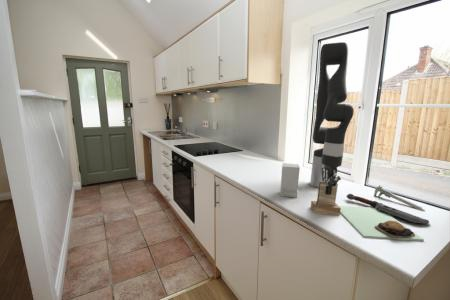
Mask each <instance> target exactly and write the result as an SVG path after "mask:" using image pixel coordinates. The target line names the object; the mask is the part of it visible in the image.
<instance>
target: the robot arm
mask: <svg viewBox="0 0 450 300" xmlns="http://www.w3.org/2000/svg"><path fill="white" fill-rule="evenodd" d="M319 54H320V56H319V73H318V74H319V78H318V86H317V88H318V89H317V94H316V106H315V107H316V108H315V118H314V119H315V120H314V127H313V131H312V141H313V143H314V144H319V145H323V147H322V148H318V149H315V150H314V151H313V156H312V164H311V173H310V181H309V185H311V186H312V187H315V188H318V189H319V182H327V184H326V185H327V186H326V192H325V194H326V195H331V192H332V186H334V187H335V186H336V184H338V183H339V181H340V180H339V179H340V178H341V176H340V175H338V167H341V166H342V162H343V156H344V149H345V147H344V145H345V137H346V133H347V130H348V127H349V125H350V122H351V121H352V119H353V116H354V112H355V110H354V107H353V105H352V104H350V103H349V104H348V103H344V102H345V101H346V100H347V98H348V97H347V96H348V91H347V73H348V62H349V60H348V59H349V46H348V43H346V42H344V41H343V42H342V41H341V42H333V43H332V42H330V43H324V44H323V45H321V48H320V53H319ZM337 65H339V66H338V68H337V69H336V71H335V72H334V73H333V74H332V76H331V77H330V75H329V71H328V66H337ZM324 121H326V122H334V123H339V125H337V126H334V127H332V126H331V127H325V126H324V127H323V126H322V124H323V123H324Z"/></svg>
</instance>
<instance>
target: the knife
mask: <svg viewBox="0 0 450 300" xmlns="http://www.w3.org/2000/svg"><path fill="white" fill-rule="evenodd" d="M346 198H347V199H348V200H351V201H352V200H355V201H357V202H358V203H359V202H360V203H362V204H366V205H368V206H370V207H371V208H377V209H378V210H380V211H382V212H385V213H388V214H389V215H390V216H392V217H394V218H395V217H396V218H398V219H402V220H404V221H407V222H410V223H414V224H417V223H418V224H429V223H430V221H429V219H425V218H423V217H420V216H416V215H414V214H411V213H408V212H406V211H402V210H400V209H397V208H394V207H392V206H389V205H386V204H383V203H382V202H378V201H376V200H370V199H368V198H365V197H361V196H357V195H354V194H352V193H348V194H347V195H346Z"/></svg>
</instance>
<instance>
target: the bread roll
mask: <svg viewBox="0 0 450 300" xmlns="http://www.w3.org/2000/svg"><path fill="white" fill-rule="evenodd" d="M400 223H401V222H400ZM400 223H398V222H396V221H386V222H384V223H379V224H378V226H375V227H374V228H377V229H378V230H380V231H382V232H383V233H384V234H386V235H388V236H390V237H391V238H407V237H412V236H415V234H413V233H415V232H414V231H413V230H412V229H410V228H409V229H407V228H408V227H407V228H405V227H404V226H405V225H404V224H403V225H404V226H403V225H401V224H400ZM412 231H413V232H412Z"/></svg>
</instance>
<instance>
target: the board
mask: <svg viewBox="0 0 450 300" xmlns="http://www.w3.org/2000/svg"><path fill="white" fill-rule="evenodd" d="M326 184H327V182H319V188H318V190H317V198H316V201H317V205H327V206H335V203H336V201H337V200H336V199H337V195H338V193H337V192H338V187H339V185H338V183H337V184H336V186H335V187H334V186H332V192H331V195H326V194H325V192H326V186H327V185H326Z"/></svg>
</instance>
